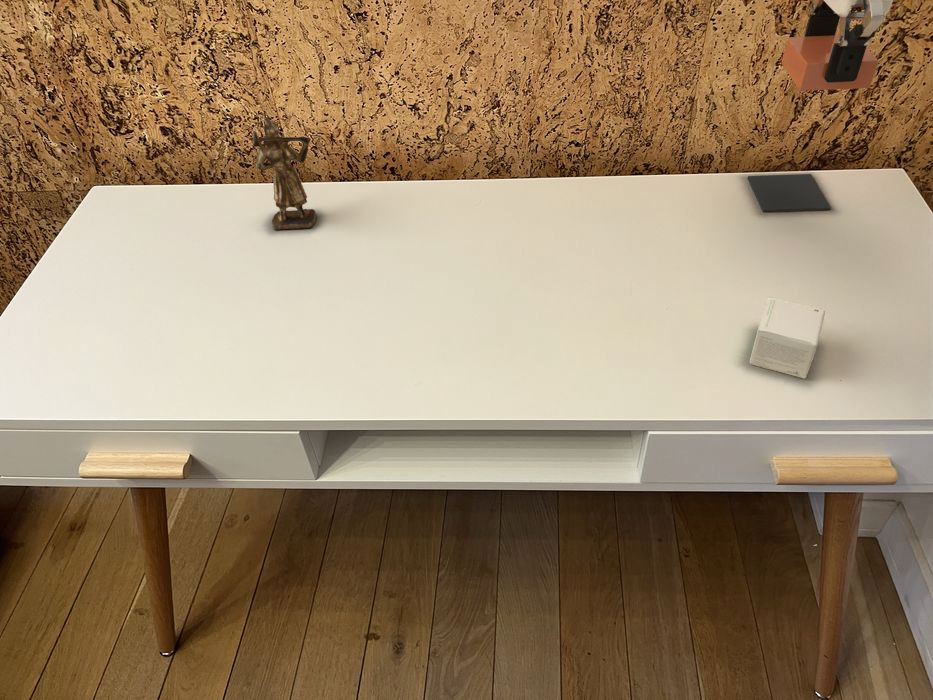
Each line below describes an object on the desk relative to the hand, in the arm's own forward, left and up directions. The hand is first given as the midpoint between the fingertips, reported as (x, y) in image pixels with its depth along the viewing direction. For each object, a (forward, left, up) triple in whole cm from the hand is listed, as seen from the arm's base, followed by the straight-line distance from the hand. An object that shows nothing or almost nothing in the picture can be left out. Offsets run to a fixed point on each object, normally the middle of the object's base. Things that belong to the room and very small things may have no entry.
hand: (827, 64), depth 82 cm
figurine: (+38, +52, -19) cm, 67 cm away
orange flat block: (0, 0, -1) cm, 1 cm away
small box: (-17, +22, -19) cm, 34 cm away
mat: (+2, -3, -19) cm, 19 cm away
